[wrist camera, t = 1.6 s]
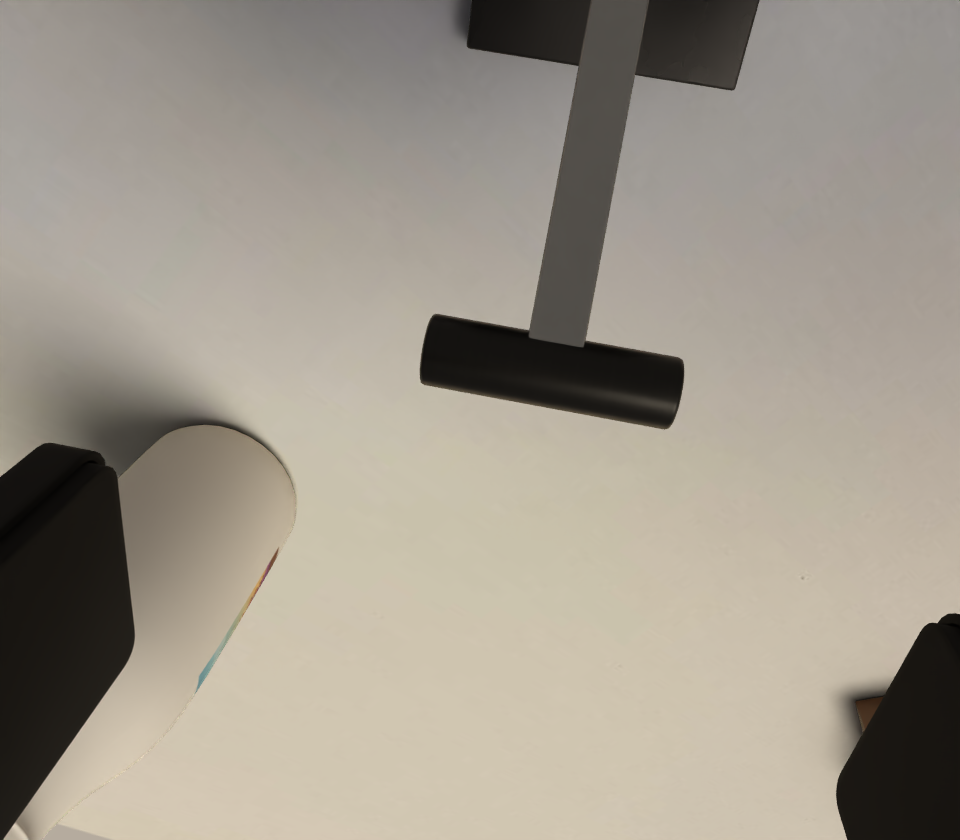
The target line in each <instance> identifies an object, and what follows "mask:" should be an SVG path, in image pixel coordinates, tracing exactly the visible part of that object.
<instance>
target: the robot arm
mask: <svg viewBox="0 0 960 840" xmlns="http://www.w3.org/2000/svg"><path fill="white" fill-rule="evenodd" d="M134 641H135V628H134V619H133V610H132V602H131V593H130V584H129V575H128V566H127V558H126V549H125V540H124V531H123V522H122V514H121V505H120V496H119V487H118V479H117V475H116V472H115V470H114V469H113V468H111V467H109V466H106V465H105V461H104V459H103V457H102V456H101V454H100V453H98V452H96V451H91V450H86V449H81V448H76V447H70V446H65V445H60V444H54V443H45V444H42V445H41V446H39V447H37V448H36V449H35V450H33V451H32V452H31V453H30V454H28V455H27V456H26V457H25V458H23V459H22V460H21V461H20V462H18V463H17V464H16V465H15V466H13V467H12V468H11V469H10V470H8V471H7V472H6V473H5V474H3V475H2V476H1V477H0V840H3V839H4V838H5V836H6V835H7V833H8V832H9V831H10V829H11V828H12V826H13V825H14V823H15V822H16V821H17V819H18V818H19V816H20V815H21V813H22V812H23V811H24V809H25V808H26V806H27V805H28V804H29V802H30V801H31V799H32V798H33V796H34V795H35V794H36V792H37V791H38V789H39V788H40V786H41V785H42V784H43V782H44V781H45V779H46V778H47V777H48V775H49V774H50V772H51V771H52V769H53V768H54V767H55V765H56V764H57V762H58V761H59V759H60V758H61V757H62V755H63V754H64V752H65V751H66V749H67V748H68V747H69V745H70V744H71V742H72V741H73V740H74V738H75V737H76V735H77V734H78V732H79V731H80V730H81V728H82V727H83V725H84V724H85V722H86V721H87V720H88V718H89V717H90V715H91V714H92V712H93V711H94V710H95V708H96V707H97V705H98V704H99V703H100V701H101V700H102V698H103V697H104V695H105V694H106V693H107V691H108V690H109V688H110V687H111V685H112V684H113V683H114V681H115V680H116V678H117V677H118V676H119V674H120V673H121V671H122V670H123V668H124V667H125V665H126V664H127V662H128V660H129V658H130V656H131V653H132V650H133V647H134ZM836 798H837V806H838V810H839V814H840V817H841V820H842V824H843V827H844V830H845V833H846V837H847V840H960V614H956V613H955V614H947V615H946V616H944V617H942V618H941V619H940V621H939V622H938V623H929V624H927V625H926V626H924V628H923V629H922V630H921V632H920V634H919V635H918V637H917V639H916V641H915V642H914V644H913V646H912V648H911V649H910V651H909V653H908V655H907V657H906V658H905V660H904V662H903V664H902V665H901V667H900V669H899V671H898V672H897V674H896V676H895V678H894V679H893V681H892V683H891V685H890V687H889V688H888V690H887V692H886V694H885V695H884V697H883V699H882V701H881V702H880V704H879V706H878V708H877V710H876V711H875V713H874V715H873V717H872V718H871V720H870V722H869V724H868V725H867V727H866V729H865V731H864V733H863V734H862V736H861V738H860V740H859V741H858V743H857V745H856V747H855V748H854V750H853V752H852V754H851V756H850V757H849V759H848V761H847V763H846V764H845V766H844V768H843V770H842V771H841V773H840V776H839V778H838V782H837V790H836Z"/></svg>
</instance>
